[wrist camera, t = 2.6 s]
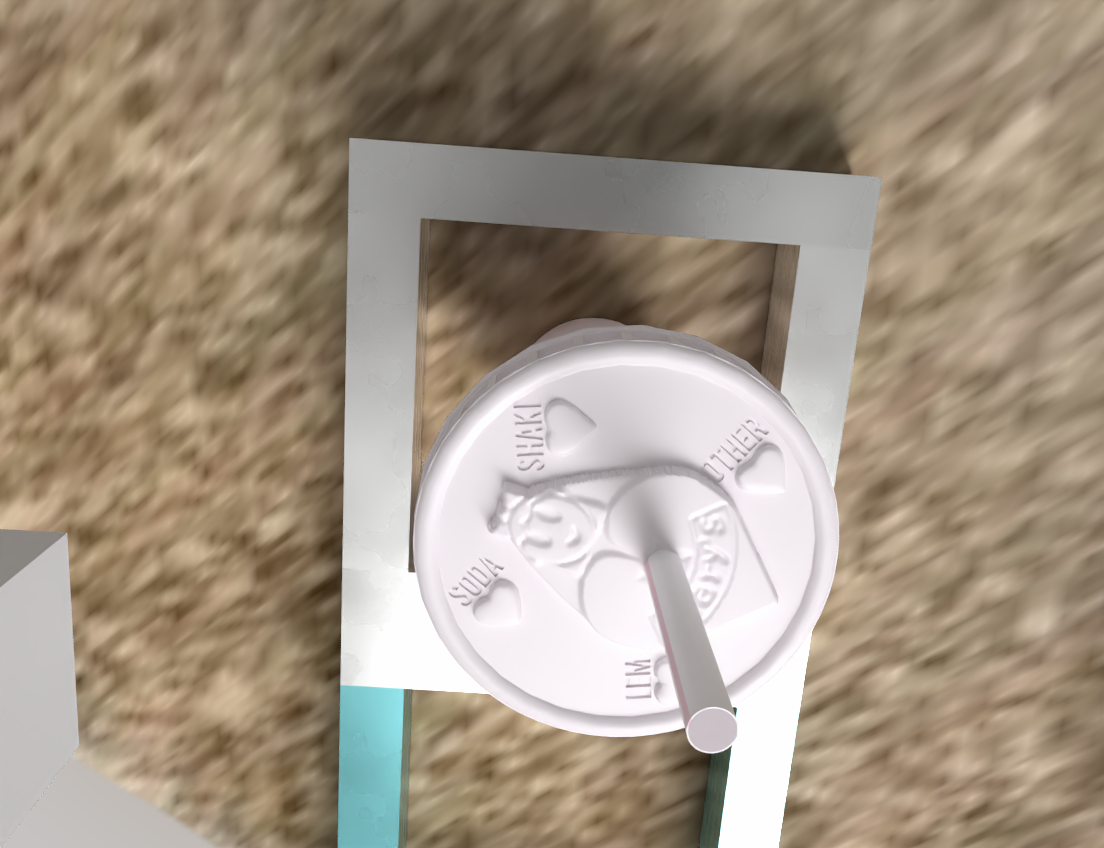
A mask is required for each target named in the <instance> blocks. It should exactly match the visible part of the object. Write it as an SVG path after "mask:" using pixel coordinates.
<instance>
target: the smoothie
mask: <svg viewBox="0 0 1104 848" xmlns="http://www.w3.org/2000/svg"><path fill="white" fill-rule="evenodd" d="M838 546H839V518H838V510H837V503H836V497H835V493H834V489H833V485H832V481H831V478H830V475H829V472H828V469H827V467H826V464H825V461H824V459H823V457H822V455H821V453H820V451H819V449H818V447H817V445H816V443H815V441H814V440H813V438H812V436H811V435H810V433H809V432H808V430H807V428H806V427H805V426H804V424H803V423H802V422H801V420H800V419H799V418H798V416H797V414H796V413H795V411H794V410H793V408H792V406H791V405H790V403H789V401H788V400H787V398H786V397H785V396H784V395H783V394H782V393H781V392H779V391H778V390H777V389H776V388H775V387H774V386H773V385H772V384H771V383H770V382H769V381H768V380H767V379H765V378H764V377H763V376H762V375H761V374H760V373H759V372H758V371H757V370H756V369H755V368H754V367H753V366H751V365H750V364H749V363H748V362H747V361H745V360H743V359H741V358H739V357H737V356H735V355H733V354H731V353H729V352H727V351H725V350H724V349H722V348H720V347H718V346H716V345H714V344H712V343H710V342H708V341H706V340H704V339H702V338H700V337H698V336H694V335H689V334H684V333H679V332H675V331H670V330H665V329H660V328H656V327H651V326H646V325H629V326H627V325H624V324H622V323H619V322H616V321H613V320H609V319H603V318H582V319H576V320H572V321H569V322H566V323H563V324H561V325H558V326H556V327H555V328H553V329H551V330H550V331H548V332H547V333H545V334H544V335H543V336H541V337H540V338H539V339H538V340H537V341H536V342H535V343H534V344H533V345H531V346H530V347H528V348H526V349H525V350H523V351H522V352H520V353H519V354H517V355H516V356H514V357H512V358H511V359H509V360H508V361H506V362H505V363H503V364H502V365H500V366H498V367H497V368H495V369H494V370H492V371H491V372H489V373H488V374H486V375H485V376H483V378H482V379H481V380H480V381H479V382H478V383H477V384H476V385H475V386H474V388H473V389H472V390H471V391H470V392H469V393H468V394H467V395H466V396H465V397H464V399H463V400H462V401H461V402H460V403H459V404H458V405H457V406H456V407H455V409H454V410H453V411H452V412H451V413H450V414H449V415H448V416H447V418H446V420H445V422H444V424H443V426H442V428H441V430H440V432H439V434H438V436H437V438H436V440H435V442H434V444H433V446H432V448H431V450H430V452H429V454H428V456H427V458H426V460H425V462H424V464H423V470H422V475H421V480H420V486H419V491H418V496H417V502H416V507H415V512H414V533H413V555H414V566H415V573H416V580H417V584H418V588H419V591H420V595H421V599H422V602H423V604H424V607H425V610H426V613H427V615H428V618H429V620H430V622H431V624H432V626H433V628H434V630H435V632H436V634H437V635H438V637H439V639H440V640H441V642H442V643H443V645H444V647H445V648H446V650H447V651H448V652H449V654H450V655H451V656H452V658H453V659H454V660H455V661H456V663H457V664H458V665H459V666H460V667H461V668H462V669H463V670H464V672H465V673H466V674H467V675H468V676H469V677H470V678H471V679H472V680H473V681H474V682H476V683H477V684H478V685H479V686H480V687H481V688H483V689H484V690H485V691H486V692H487V693H489V694H490V695H492V696H493V697H494V698H496V699H497V700H499V701H500V702H501V703H503V704H505V705H507V706H508V707H510V708H512V709H513V710H515V711H517V712H519V713H521V714H523V715H525V716H527V717H529V718H532V719H534V720H536V721H539V722H541V723H544V724H547V725H550V726H553V727H556V728H560V729H563V730H567V731H571V732H576V733H582V734H588V735H595V736H608V737H634V736H645V735H654V734H659V733H665V732H670V731H674V730H678V729H681V728H685V731H686V735H687V738H688V741H689V742H690V744H691V745H692V746H693V747H694V748H696V749H697V750H699V751H701V752H705V753H718V752H722V751H724V750H726V749H728V748H729V747H730V746H731V745H732V744H733V743H734V742H735V740H736V739H737V736H738V733H739V725H738V722H737V719H736V716H735V713H734V710H733V707H734V706H736V705H738V704H739V703H741V702H743V701H744V700H746V699H747V698H749V697H750V696H752V695H753V694H754V693H756V692H757V691H759V690H760V689H761V688H762V687H764V686H765V685H766V684H767V683H768V682H769V681H771V680H772V679H773V678H774V677H775V676H776V675H777V674H778V673H779V672H780V671H781V670H782V669H783V668H784V667H785V666H786V665H787V664H788V663H789V662H790V660H791V659H792V658H793V657H794V655H795V654H796V653H797V652H798V651H799V649H800V648H801V647H802V645H803V644H804V642H805V641H806V639H807V638H808V636H809V635H810V633H811V632H812V630H813V628H814V626H815V624H816V622H817V620H818V618H819V617H820V615H821V613H822V610H823V608H824V605H825V603H826V600H827V598H828V595H829V592H830V589H831V585H832V582H833V578H834V574H835V569H836V563H837V558H838Z"/></svg>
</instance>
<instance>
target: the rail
mask: <svg viewBox="0 0 1104 848" xmlns="http://www.w3.org/2000/svg"><path fill="white" fill-rule="evenodd" d="M881 181H882V177H872V176H861V175H849V174H836V173H822V172H809V171H795V170H782V169H768V168H755V167H741V166H727V165H714V164H700V163H687V162H673V161H660V160H646V159H633V158H619V157H606V156H592V155H579V154H565V153H552V152H538V151H525V150H511V149H498V148H484V147H471V146H457V145H444V144H430V143H417V142H403V141H390V140H376V139H361V138H349V195H348V256H347V317H346V378H345V439H344V500H343V561H342V621H341V682H340V743H339V804H338V848H406V841H407V815H408V788H409V762H410V736H411V709H412V689H420V690H438V691H456V692H474V693H487V692H486V691H485V690H484V689H483V688H481V687H480V686H479V685H478V684H477V683H476V682H474V681H473V680H472V679H471V678H470V677H469V676H468V675H467V674H466V673H465V672H464V670H463V669H462V668H461V667H460V666H459V665H458V664H457V663H456V661H455V660H454V659H453V658H452V656H451V655H450V654H449V652H448V651H447V650H446V648H445V647H444V645H443V643H442V642H441V640H440V639H439V637H438V635H437V634H436V632H435V630H434V628H433V626H432V624H431V622H430V620H429V618H428V615H427V613H426V610H425V607H424V604H423V602H422V599H421V595H420V591H419V588H418V584H417V580H416V573H415V566H414V555H413V533H414V512H415V507H416V502H417V496H418V491H419V486H420V473H421V446H422V420H423V394H424V368H425V341H426V315H427V289H428V262H429V236H430V219H440V220H454V221H468V222H482V223H496V224H510V225H524V226H538V227H552V228H566V229H580V230H594V231H608V232H622V233H636V234H650V235H664V236H678V237H692V238H706V239H720V240H734V241H748V242H762V243H776V244H777V252H776V259H775V267H774V275H773V282H772V290H771V298H770V305H769V313H768V321H767V328H766V336H765V344H764V351H763V359H762V367H761V375H762V376H763V377H764V378H765V379H767V380H768V381H769V382H770V383H771V384H772V385H773V386H774V387H775V388H776V389H777V390H778V391H779V392H781V393H782V394H783V395H784V396H785V397H786V398H787V400H788V401H789V403H790V405H791V406H792V408H793V410H794V411H795V413H796V414H797V416H798V418H799V419H800V420H801V422H802V423H803V424H804V426H805V427H806V428H807V430H808V432H809V433H810V435H811V436H812V438H813V440H814V441H815V443H816V445H817V447H818V449H819V451H820V453H821V455H822V457H823V459H824V461H825V464H826V467H827V469H828V472H829V475H830V478H831V481H832V485H833V489H834V484H835V477H836V471H837V465H838V458H839V452H840V445H841V439H842V432H843V426H844V420H845V413H846V407H847V400H848V394H849V387H850V381H851V374H852V368H853V362H854V355H855V349H856V342H857V336H858V329H859V323H860V317H861V310H862V304H863V297H864V291H865V284H866V278H867V271H868V265H869V259H870V252H871V246H872V239H873V233H874V226H875V220H876V214H877V207H878V201H879V194H880V188H881ZM810 638H811V633H810V635H809V636H808V638H807V639H806V641H805V642H804V644H803V645H802V647H801V648H800V649H799V651H798V652H797V653H796V654H795V655H794V657H793V658H792V659H791V660H790V662H789V663H788V664H787V665H786V666H785V667H784V668H783V669H782V670H781V671H780V672H779V673H778V674H777V675H776V676H775V677H774V678H773V679H772V680H771V681H769V682H768V683H767V684H766V685H765V686H764V687H762V688H761V689H760V690H759V691H757V692H756V693H754V694H753V695H752V696H750V697H749V698H747V699H746V700H744V701H743V702H741V703H739V704H738V705H736V706H734V707H733V710H734V713H735V716H736V719H737V722H738V725H739V733H738V736H737V739H736V740H735V742H734V743H733V744H732V745H731V746H730V747H729V748H728V749H726V750H724V751H722V752H718V753H711V758H710V765H709V773H708V781H707V788H706V796H705V804H704V811H703V819H702V827H701V834H700V842H699V848H778V844H779V838H780V831H781V825H782V819H783V812H784V806H785V799H786V793H787V786H788V780H789V773H790V767H791V761H792V754H793V748H794V741H795V735H796V728H797V722H798V716H799V709H800V703H801V696H802V690H803V683H804V677H805V671H806V664H807V658H808V651H809V645H810Z"/></svg>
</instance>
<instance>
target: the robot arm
mask: <svg viewBox="0 0 1104 848" xmlns="http://www.w3.org/2000/svg"><path fill="white" fill-rule="evenodd" d="M78 747H79V735H78V717H77V700H76V682H75V665H74V647H73V629H72V612H71V594H70V576H69V559H68V541H67V533H59V532H41V531H23V530H5V529H0V848H2V847H3V846H4V844H5V843H6V842H7V840H8V839H9V838H10V836H11V835H12V834H13V833H14V831H15V830H16V828H17V827H18V826H19V825H20V823H21V822H22V821H23V819H24V818H25V817H26V815H27V814H28V813H29V811H30V810H31V809H32V807H33V806H34V805H35V804H36V802H37V801H38V800H39V798H40V797H41V796H42V794H43V793H44V791H45V790H46V789H47V788H48V786H49V785H50V784H51V783H52V781H53V780H54V779H55V777H56V776H57V775H58V773H59V772H60V771H61V769H62V768H63V767H64V765H65V764H66V763H67V761H68V760H69V759H70V758H71V756H72V755H73V754H74V752H75V751H76V750H77V748H78Z"/></svg>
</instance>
